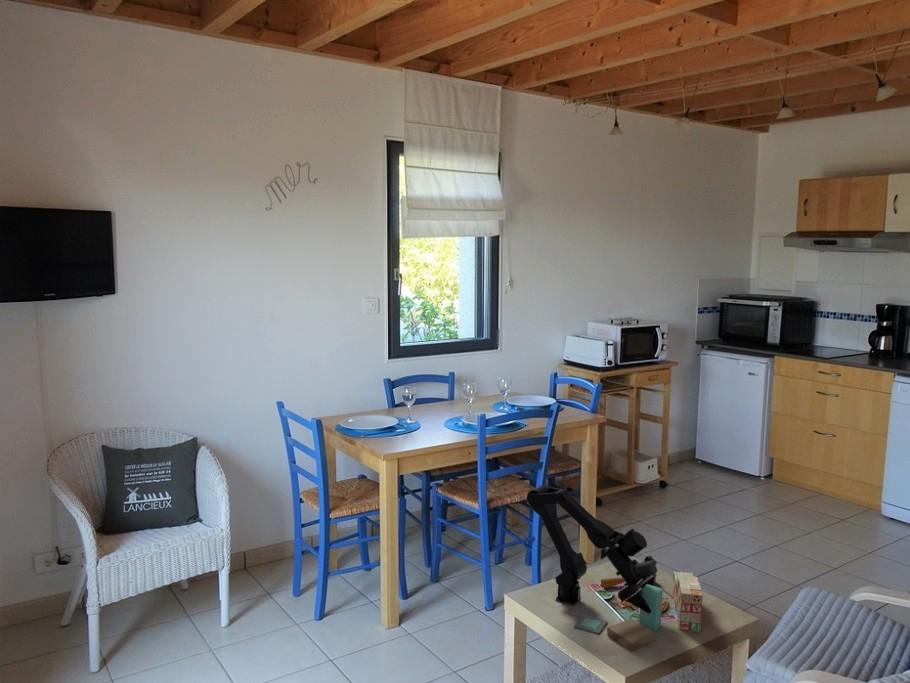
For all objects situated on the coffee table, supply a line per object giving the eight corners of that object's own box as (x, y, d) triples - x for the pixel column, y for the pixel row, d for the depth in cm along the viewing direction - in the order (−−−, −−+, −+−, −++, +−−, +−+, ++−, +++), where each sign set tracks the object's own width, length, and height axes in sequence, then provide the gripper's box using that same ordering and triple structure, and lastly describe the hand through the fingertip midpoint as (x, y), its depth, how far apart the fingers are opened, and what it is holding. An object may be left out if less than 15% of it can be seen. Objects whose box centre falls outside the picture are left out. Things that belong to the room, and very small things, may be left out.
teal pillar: (639, 626, 223) (641, 590, 221) (645, 620, 227) (647, 584, 225) (654, 632, 220) (656, 594, 219) (660, 625, 224) (662, 588, 223)
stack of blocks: (671, 597, 242) (673, 562, 241) (691, 599, 241) (693, 564, 240) (679, 630, 222) (681, 592, 220) (700, 632, 220) (703, 594, 219)
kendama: (598, 573, 251) (648, 562, 256) (600, 590, 251) (650, 579, 256) (606, 577, 245) (657, 566, 251) (608, 595, 245) (660, 583, 250)
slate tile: (573, 627, 222) (573, 625, 222) (582, 615, 229) (582, 614, 229) (598, 634, 218) (598, 632, 218) (607, 622, 225) (607, 620, 225)
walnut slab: (606, 636, 218) (607, 627, 218) (630, 627, 223) (631, 618, 223) (631, 652, 210) (631, 643, 209) (655, 642, 215) (655, 633, 215)
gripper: (629, 561, 215) (663, 607, 210) (652, 540, 230) (684, 583, 225) (603, 578, 221) (636, 624, 216) (627, 557, 236) (659, 599, 231)
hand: (655, 607), depth 222 cm, fingers open, 8 cm apart
